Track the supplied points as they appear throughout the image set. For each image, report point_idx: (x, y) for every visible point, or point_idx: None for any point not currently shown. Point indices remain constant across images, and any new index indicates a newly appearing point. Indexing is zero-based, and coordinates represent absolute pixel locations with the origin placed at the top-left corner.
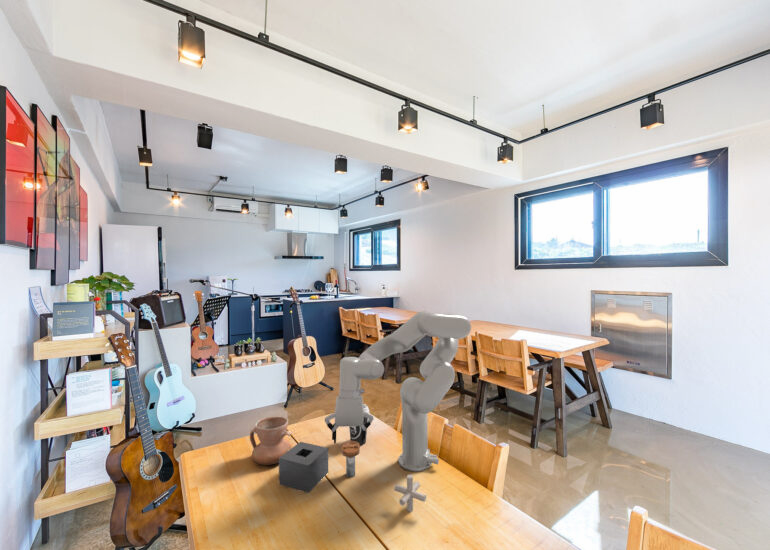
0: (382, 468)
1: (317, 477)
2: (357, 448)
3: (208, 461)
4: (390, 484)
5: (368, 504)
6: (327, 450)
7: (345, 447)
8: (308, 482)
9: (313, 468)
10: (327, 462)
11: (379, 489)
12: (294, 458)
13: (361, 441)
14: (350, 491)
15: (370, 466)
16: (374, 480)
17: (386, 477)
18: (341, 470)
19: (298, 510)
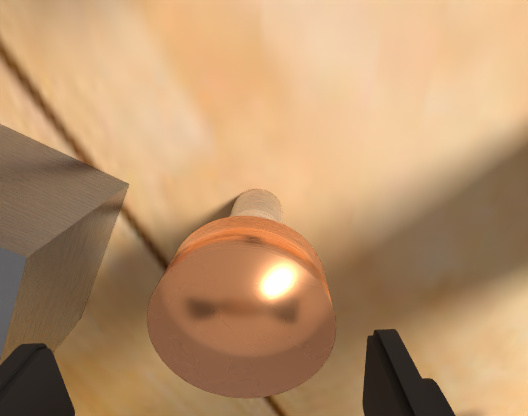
0: (450, 170)
1: (81, 286)
2: (309, 371)
3: None
4: (450, 302)
5: (329, 393)
6: (36, 257)
7: (193, 362)
8: None
9: None
10: (93, 216)
11: (389, 327)
12: None
13: (364, 413)
14: None
15: (380, 141)
16: (379, 268)
17: (447, 252)
18: (201, 166)
19: (77, 391)
